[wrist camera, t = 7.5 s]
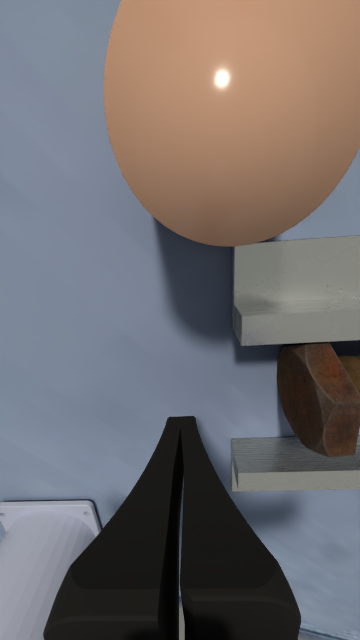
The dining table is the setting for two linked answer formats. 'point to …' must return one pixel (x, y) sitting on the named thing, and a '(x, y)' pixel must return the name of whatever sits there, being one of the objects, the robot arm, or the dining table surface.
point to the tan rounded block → (233, 110)
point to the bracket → (294, 327)
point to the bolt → (321, 397)
